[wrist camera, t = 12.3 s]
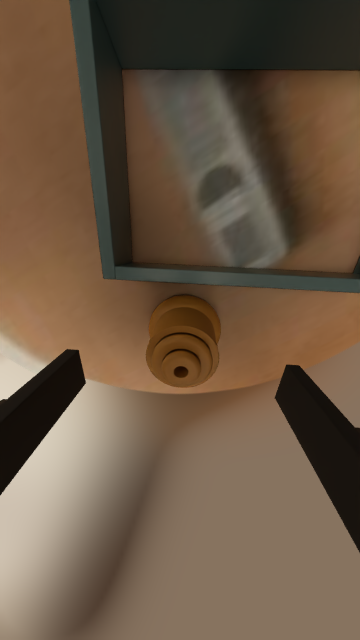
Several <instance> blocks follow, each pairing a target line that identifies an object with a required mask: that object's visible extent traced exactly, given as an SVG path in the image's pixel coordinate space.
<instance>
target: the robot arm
mask: <svg viewBox="0 0 360 640" xmlns="http://www.w3.org/2000/svg"><path fill="white" fill-rule="evenodd" d="M85 384H86V381H85V377H84V373H83V368H82V364H81V359H80V355H79V350H71V349H67V350H65V351H64V352H63V353H62V354H61V355H59V356H58V357H57V358H56V359H55V360H53V361H52V362H51V363H50V364H49V365H47V366H46V367H45V368H44V369H43V370H41V371H40V372H39V373H38V374H37V375H36V376H35V377H33V378H32V379H31V380H30V381H28V382H27V383H26V384H25V385H24V386H23V387H21V388H20V389H19V390H18V391H16V392H15V393H14V394H13V395H12V396H10V397H9V398H8V399H3V400H1V401H0V495H1V494H2V492H3V491H4V490H5V488H6V487H7V486H8V485H9V483H10V482H11V481H12V479H13V478H14V477H15V475H16V474H17V473H18V471H19V470H20V469H21V467H22V466H23V465H24V463H25V462H26V461H27V460H28V458H29V457H30V456H31V454H32V453H33V452H34V450H35V449H36V448H37V446H38V445H39V444H40V443H41V441H42V440H43V439H44V437H45V436H46V435H47V433H48V432H49V431H50V429H51V428H52V427H53V425H54V424H55V423H56V422H57V420H58V419H59V418H60V416H61V415H62V414H63V412H64V411H65V410H66V408H67V407H68V406H69V405H70V403H71V402H72V401H73V399H74V398H75V397H76V395H77V394H78V393H79V391H80V390H81V389H82V387H83V386H84V385H85ZM275 399H276V401H277V403H278V404H279V406H280V408H281V410H282V412H283V414H284V415H285V417H286V419H287V421H288V423H289V425H290V426H291V428H292V430H293V432H294V433H295V435H296V437H297V439H298V441H299V443H300V444H301V446H302V448H303V450H304V452H305V454H306V456H307V457H308V459H309V461H310V463H311V464H312V466H313V468H314V470H315V472H316V474H317V475H318V477H319V479H320V481H321V483H322V485H323V486H324V488H325V490H326V492H327V494H328V496H329V497H330V499H331V501H332V503H333V505H334V506H335V508H336V510H337V512H338V514H339V515H340V517H341V519H342V521H343V523H344V525H345V527H346V528H347V530H348V532H349V534H350V536H351V538H352V539H353V541H354V543H355V545H356V546H357V548H358V550H359V552H360V428H355V427H354V426H353V425H352V424H351V423H350V422H349V421H348V419H347V418H346V417H345V416H344V415H343V414H342V413H341V412H340V411H339V409H338V408H337V407H336V406H335V405H334V404H333V403H332V402H331V401H330V399H329V398H328V397H327V396H326V395H325V394H324V393H323V392H322V390H320V388H319V387H318V386H317V385H316V384H315V383H314V382H313V380H312V379H311V378H310V377H309V376H308V375H307V374H306V373H305V372H304V370H303V369H302V368H301V367H300V366H299V365H286V367H285V370H284V373H283V376H282V378H281V381H280V384H279V387H278V390H277V393H276V396H275Z"/></svg>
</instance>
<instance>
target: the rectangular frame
mask: <svg viewBox="0 0 360 640" xmlns="http://www.w3.org/2000/svg"><path fill="white" fill-rule="evenodd" d="M69 1H70V10H71V18H72V26H73V34H74V42H75V51H76V59H77V67H78V75H79V83H80V91H81V100H82V108H83V116H84V124H85V132H86V141H87V149H88V157H89V165H90V173H91V181H92V190H93V198H94V206H95V214H96V222H97V231H98V239H99V247H100V255H101V263H102V271H103V278H104V279H117V280H133V281H151V282H169V283H188V284H206V285H224V286H242V287H260V288H279V289H297V290H315V291H333V292H352V293H360V258H359V260H358V263H357V265H356V267H355V270H354V272H353V273H336V272H316V271H297V270H277V269H257V268H237V267H217V266H198V265H178V264H158V263H138V262H133V258H132V241H131V223H130V206H129V188H128V171H127V153H126V136H125V118H124V101H123V83H122V69H291V70H360V0H69Z"/></svg>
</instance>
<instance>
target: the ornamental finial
mask: <svg viewBox="0 0 360 640" xmlns="http://www.w3.org/2000/svg"><path fill="white" fill-rule="evenodd" d="M220 333H221V326H220V321H219V318H218V315H217V313H216V312H215V310H214V309H213V308H212V307H211V306H210V305H209V304H208V303H207V302H205V301H204V300H202V299H200V298H198V297H195V296H190V295H179V296H174V297H171V298H169V299H167V300H165V301H164V302H162V303H161V304H160V305H159V306H158V307H157V308H156V309H155V311H154V312H153V314H152V316H151V319H150V323H149V334H150V341H149V344H148V346H147V350H146V361H147V365H148V367H149V369H150V371H151V372H152V373H153V375H154V376H155V377H156V378H158V379H159V380H160V381H162V382H163V383H165V384H168V385H170V386H174V387H180V388H188V387H194V386H197V385H200V384H202V383H204V382H205V381H207V380H208V379H209V378H210V377H211V376H212V375H213V374H214V373H215V371H216V369H217V367H218V363H219V352H218V347H217V343H218V341H219V338H220Z"/></svg>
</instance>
